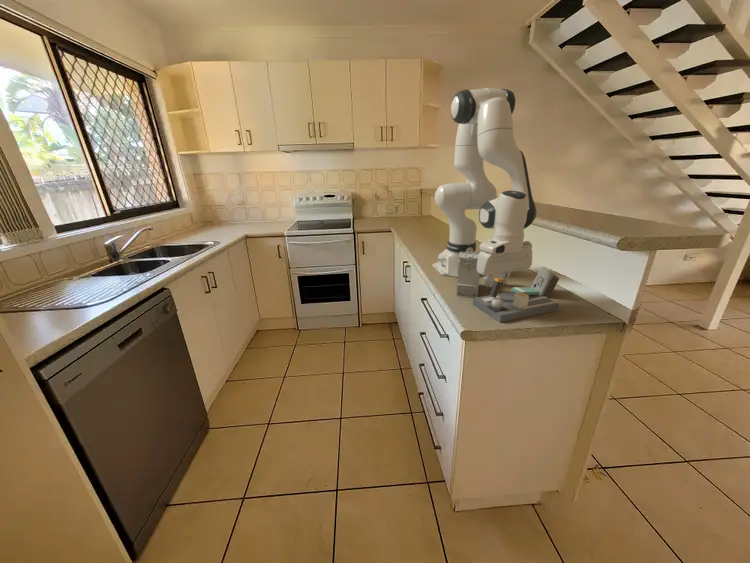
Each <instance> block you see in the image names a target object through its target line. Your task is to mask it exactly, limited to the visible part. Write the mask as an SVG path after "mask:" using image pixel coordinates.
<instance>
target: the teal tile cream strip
mask: <svg viewBox="0 0 750 563" xmlns="http://www.w3.org/2000/svg"><path fill="white" fill-rule="evenodd" d="M512 291H514V292H516V293H524V294H526V295H539V294H540V292H539V291H537V290H535V289H533V288H531V286H529V287H528V286H527V287H526V286H525V287H517V286H516V287H515V286H514V287H512V288H511V292H512Z"/></svg>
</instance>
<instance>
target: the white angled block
mask: <svg viewBox="0 0 750 563" xmlns="http://www.w3.org/2000/svg"><path fill="white" fill-rule="evenodd" d="M495 278H499V276H498V274H494V275H488V276H483V277H482V285H484V286H485V287H487V288H492V286H493V284H494V281H495V280H494V279H495ZM499 279H500V278H499Z"/></svg>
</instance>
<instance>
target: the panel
mask: <svg viewBox="0 0 750 563" xmlns="http://www.w3.org/2000/svg"><path fill="white" fill-rule="evenodd" d="M514 294H517V293H516V292H514V291H512V290H511V291H506V292H501V293H497V296H496V297H492V296H490V295H489V294H488V295H485V296H479V297H478V296H477V298H473V297H472V298H473V301H472V305H473V306H474V307H475V308H477V309H478V310H480V311H482V312H483V313H484V314H486V315H488V316H489V317H491V318H492V319H494V320H495V321H497V322H498V323H504V322H508V321H514V320H517V319H522V318H528V316H529V317H533V316H539V315H544V314H547V313H551V312H552V313H553V312H556V311H559V306H560V303H559V302H558V301H557V300H553V299H551V298H549V297H547V296H542V295H540V294H539V295H528V296H529V299H528V306H527V307H523V308H521V309H519V308H517V307H515V306H514V305H513V301H514ZM495 298H497V299H501V300H503V304H502V309H493V308H492V307H491V305H492V299H495Z"/></svg>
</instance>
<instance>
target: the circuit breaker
mask: <svg viewBox="0 0 750 563" xmlns="http://www.w3.org/2000/svg"><path fill="white" fill-rule="evenodd" d="M479 253H480V252H476V251H475V252H460V254H459V264H458V277H457V282H456V295H455V296H456V297H462V298H463V297H464V298H477V297H478V294H479V283H480V274H479V273H478V272H477V260H478V256H479Z"/></svg>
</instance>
